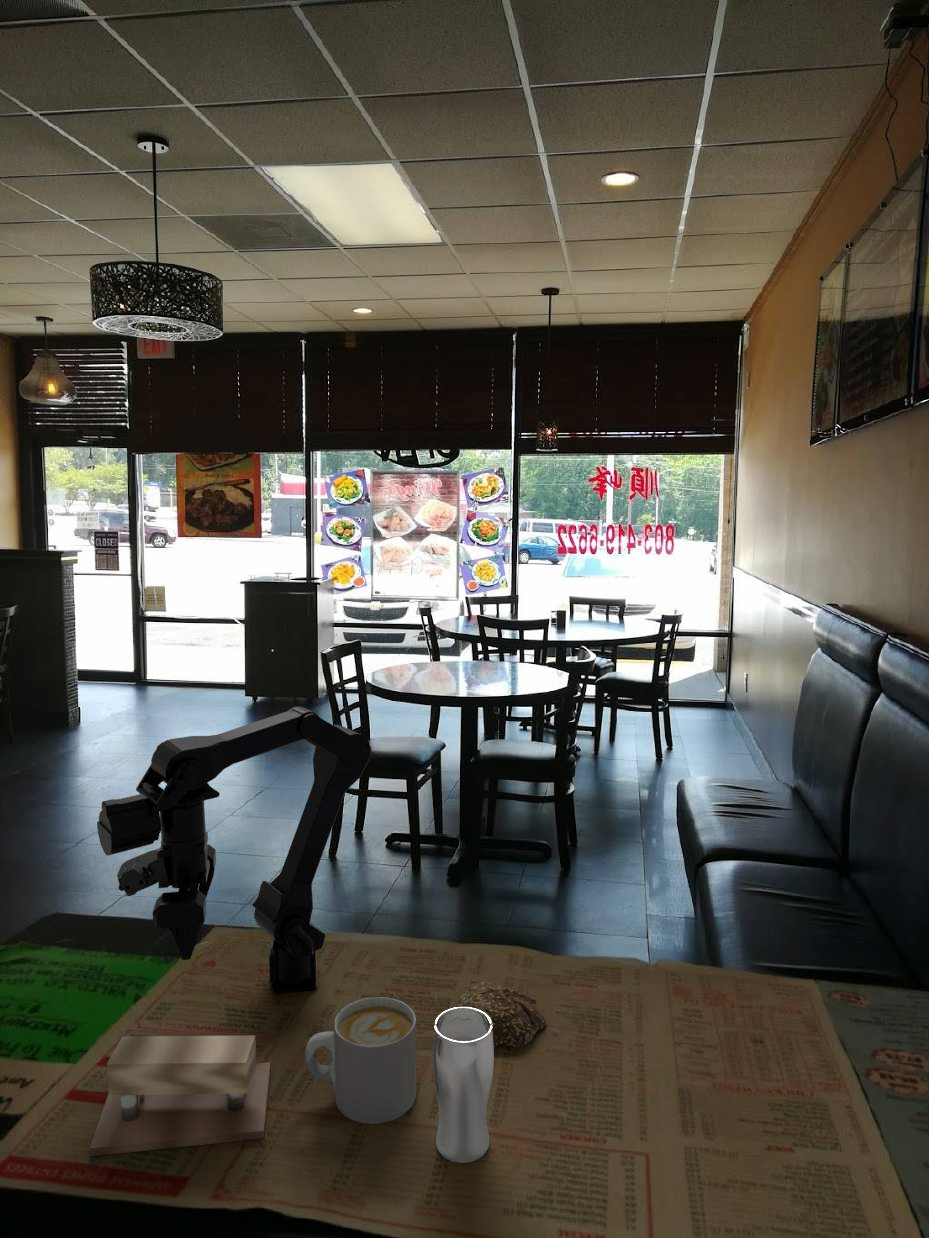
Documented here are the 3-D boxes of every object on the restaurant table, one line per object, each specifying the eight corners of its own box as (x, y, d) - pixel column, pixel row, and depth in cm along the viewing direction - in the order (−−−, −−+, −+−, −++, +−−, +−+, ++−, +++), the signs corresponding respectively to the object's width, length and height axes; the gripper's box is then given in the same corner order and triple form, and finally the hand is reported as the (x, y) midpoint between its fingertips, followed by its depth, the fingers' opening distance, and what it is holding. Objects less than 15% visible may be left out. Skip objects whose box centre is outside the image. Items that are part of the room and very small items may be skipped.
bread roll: (439, 1037, 121) (439, 1004, 120) (472, 989, 132) (473, 958, 131) (528, 1061, 116) (529, 1027, 115) (555, 1009, 127) (556, 977, 126)
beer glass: (487, 1171, 97) (488, 1047, 95) (425, 1161, 99) (425, 1039, 96) (497, 1126, 104) (499, 1009, 102) (439, 1117, 105) (440, 1001, 103)
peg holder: (270, 1069, 114) (269, 1040, 113) (263, 1138, 102) (262, 1107, 101) (115, 1083, 111) (113, 1054, 110) (89, 1156, 99) (87, 1124, 98)
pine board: (256, 1065, 108) (255, 1035, 108) (247, 1093, 103) (246, 1062, 103) (124, 1066, 108) (122, 1036, 107) (109, 1094, 103) (106, 1063, 102)
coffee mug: (424, 1072, 113) (423, 1000, 112) (405, 1128, 104) (405, 1051, 102) (323, 1060, 115) (321, 989, 114) (296, 1114, 106) (294, 1038, 104)
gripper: (132, 811, 127) (140, 913, 129) (105, 869, 109) (114, 986, 111) (213, 806, 129) (218, 906, 131) (200, 862, 111) (206, 976, 113)
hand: (190, 940), depth 122 cm, fingers open, 9 cm apart
